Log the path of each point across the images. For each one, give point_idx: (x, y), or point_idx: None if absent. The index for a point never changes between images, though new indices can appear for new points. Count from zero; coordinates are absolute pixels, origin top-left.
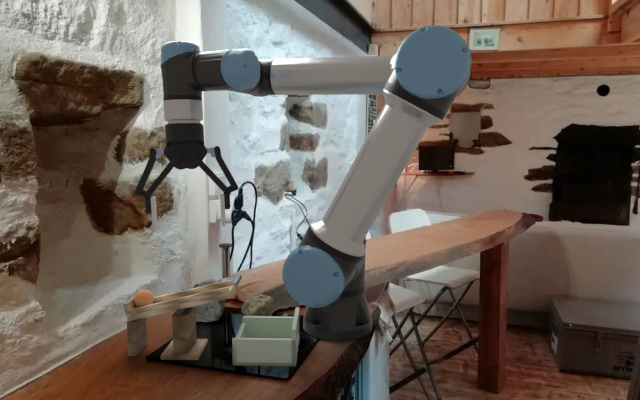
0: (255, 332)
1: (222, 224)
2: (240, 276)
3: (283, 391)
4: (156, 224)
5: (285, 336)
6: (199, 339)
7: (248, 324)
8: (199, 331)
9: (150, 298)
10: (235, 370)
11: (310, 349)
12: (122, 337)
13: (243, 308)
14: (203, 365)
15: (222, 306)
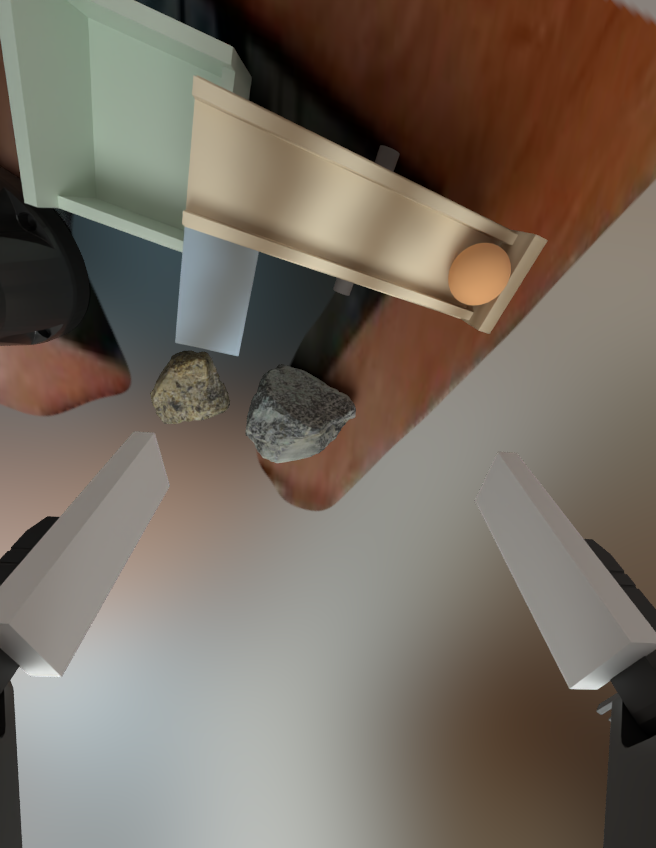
0: None
1: (147, 438)
2: (176, 329)
3: None
4: (504, 482)
5: (118, 207)
6: None
7: None
8: (318, 331)
9: (465, 253)
10: (245, 35)
11: None
12: (467, 344)
13: (222, 399)
14: (322, 108)
15: (262, 380)
